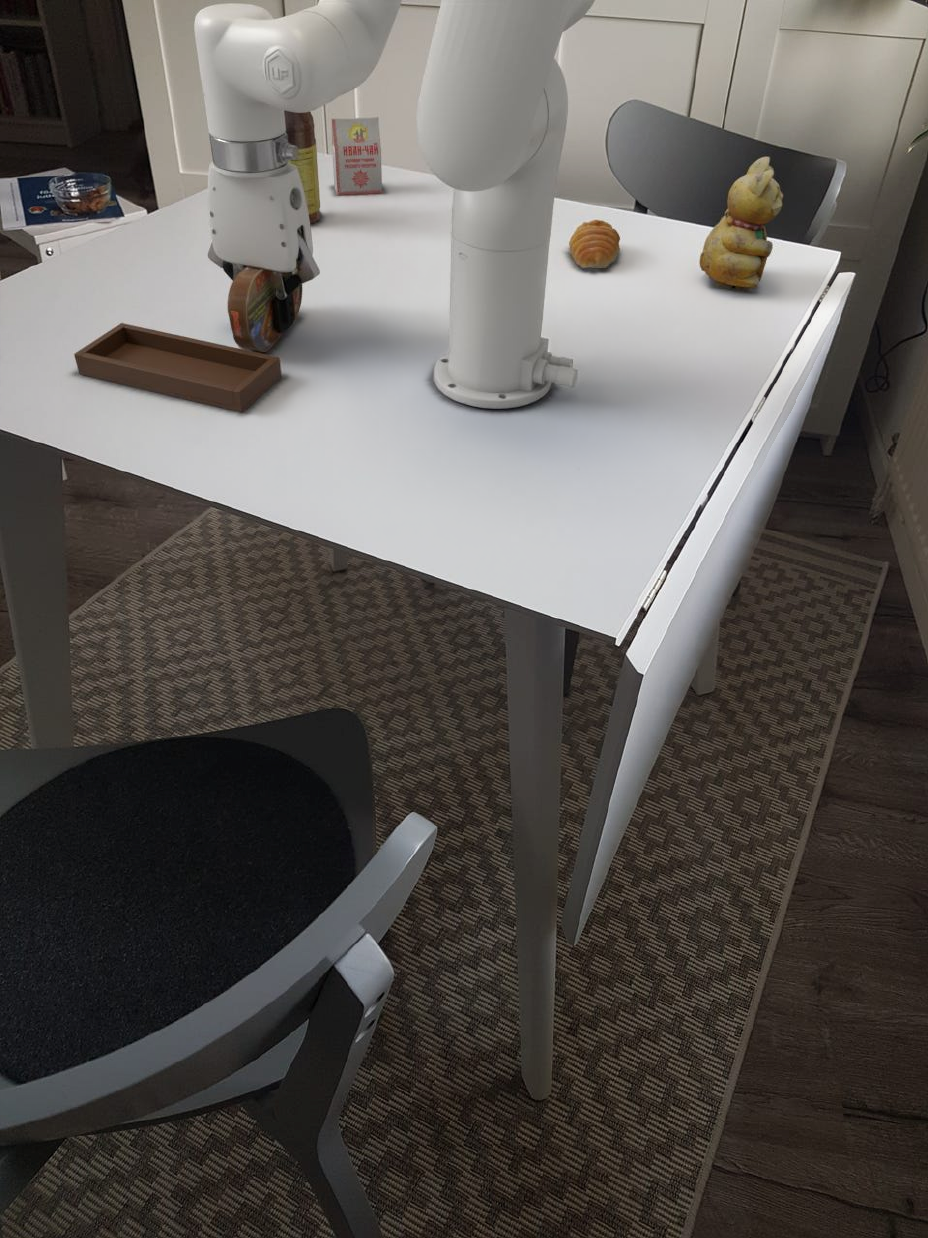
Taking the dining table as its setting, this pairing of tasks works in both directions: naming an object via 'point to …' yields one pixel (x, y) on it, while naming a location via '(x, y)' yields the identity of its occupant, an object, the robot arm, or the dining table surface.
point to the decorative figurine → (743, 230)
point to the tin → (255, 308)
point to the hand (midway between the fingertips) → (270, 323)
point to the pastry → (594, 244)
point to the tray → (180, 366)
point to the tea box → (356, 156)
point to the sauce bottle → (305, 157)
